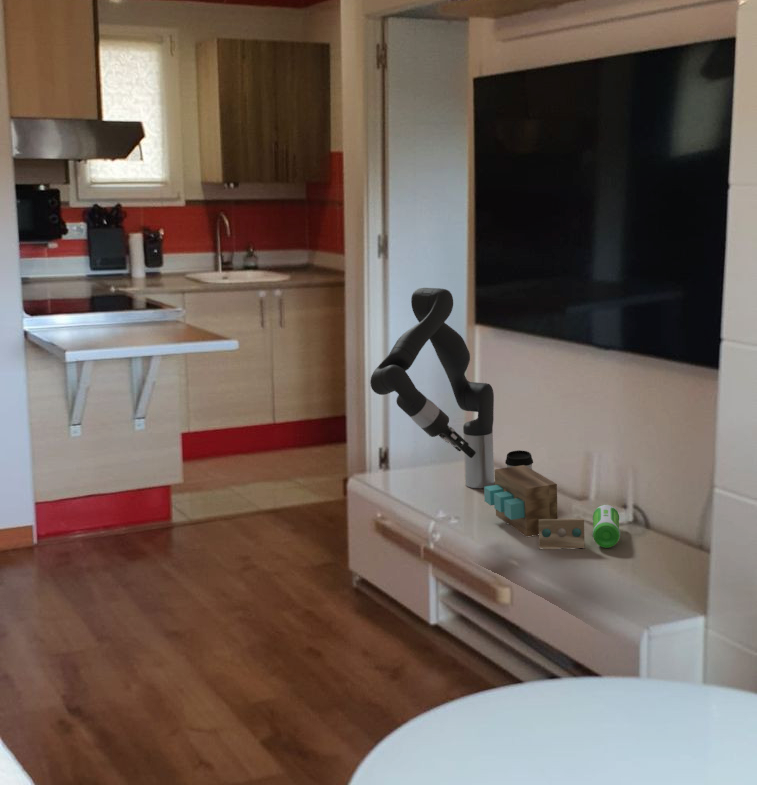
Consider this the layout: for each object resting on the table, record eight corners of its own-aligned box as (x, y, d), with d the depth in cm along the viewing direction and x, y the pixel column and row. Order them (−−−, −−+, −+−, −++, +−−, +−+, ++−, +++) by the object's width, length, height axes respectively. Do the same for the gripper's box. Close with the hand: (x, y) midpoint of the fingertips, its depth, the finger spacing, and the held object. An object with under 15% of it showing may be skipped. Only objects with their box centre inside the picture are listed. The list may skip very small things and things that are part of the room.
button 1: (490, 505, 335) (490, 490, 334) (484, 501, 340) (484, 486, 339) (509, 502, 337) (509, 487, 336) (503, 498, 341) (503, 483, 340)
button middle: (500, 512, 329) (500, 497, 328) (494, 508, 333) (493, 493, 332) (520, 509, 331) (519, 494, 330) (513, 504, 335) (513, 490, 334)
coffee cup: (533, 496, 358) (532, 449, 355) (534, 505, 350) (533, 457, 346) (506, 497, 359) (504, 450, 356) (506, 506, 351) (505, 458, 347)
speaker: (620, 550, 310) (620, 523, 309) (592, 550, 312) (592, 523, 310) (619, 528, 327) (619, 502, 325) (592, 527, 328) (592, 502, 327)
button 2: (511, 519, 322) (510, 504, 321) (504, 515, 327) (504, 500, 326) (530, 516, 324) (530, 501, 323) (524, 511, 328) (523, 497, 327)
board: (539, 542, 319) (538, 515, 317) (583, 542, 317) (583, 514, 315) (539, 549, 314) (538, 521, 312) (584, 548, 312) (584, 520, 311)
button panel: (526, 537, 324) (525, 488, 321) (496, 515, 343) (494, 469, 340) (557, 531, 326) (556, 483, 323) (525, 510, 346) (524, 465, 343)
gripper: (446, 411, 320) (486, 447, 326) (428, 402, 333) (466, 436, 339) (429, 432, 319) (468, 468, 325) (411, 422, 333) (449, 456, 338)
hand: (467, 452), depth 332 cm, fingers open, 8 cm apart
